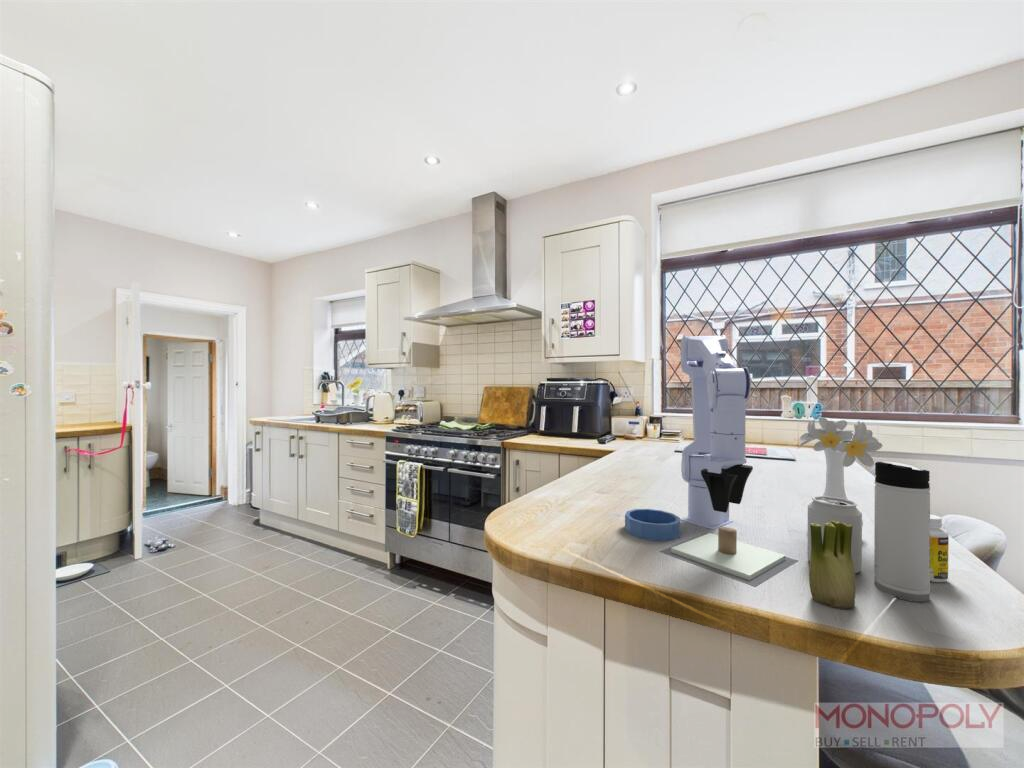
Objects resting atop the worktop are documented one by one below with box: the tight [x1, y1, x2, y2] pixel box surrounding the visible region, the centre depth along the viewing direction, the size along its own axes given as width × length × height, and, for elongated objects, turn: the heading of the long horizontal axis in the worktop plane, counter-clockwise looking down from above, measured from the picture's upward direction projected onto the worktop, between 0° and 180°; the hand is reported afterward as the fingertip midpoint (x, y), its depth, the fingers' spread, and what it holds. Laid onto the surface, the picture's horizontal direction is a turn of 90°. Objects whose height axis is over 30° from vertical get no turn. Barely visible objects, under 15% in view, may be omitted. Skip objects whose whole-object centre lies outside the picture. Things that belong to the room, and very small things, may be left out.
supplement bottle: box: [930, 513, 949, 583], centre depth 70 cm, size 6×6×10 cm
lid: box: [671, 526, 787, 580], centre depth 76 cm, size 14×14×5 cm
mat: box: [659, 533, 799, 588], centre depth 76 cm, size 17×17×1 cm
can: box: [806, 495, 863, 575], centre depth 72 cm, size 8×8×12 cm
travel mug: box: [873, 461, 931, 603], centre depth 64 cm, size 6×7×20 cm
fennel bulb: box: [808, 521, 857, 610], centre depth 60 cm, size 6×5×12 cm
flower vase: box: [796, 416, 883, 528], centre depth 89 cm, size 13×18×25 cm
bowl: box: [624, 508, 681, 542], centre depth 89 cm, size 11×11×4 cm
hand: (727, 506), depth 76 cm, fingers open, 7 cm apart
